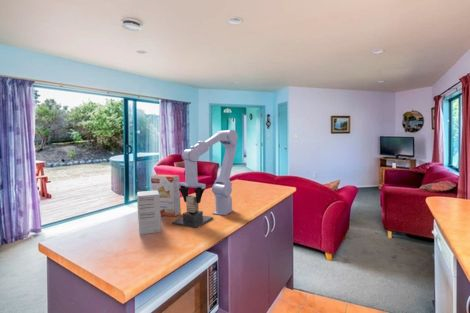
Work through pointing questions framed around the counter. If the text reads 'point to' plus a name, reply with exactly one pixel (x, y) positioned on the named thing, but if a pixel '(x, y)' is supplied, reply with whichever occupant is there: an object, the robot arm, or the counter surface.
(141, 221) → the supplement box
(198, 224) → the stand
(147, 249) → the counter surface
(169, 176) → the cracker box
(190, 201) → the birch post
